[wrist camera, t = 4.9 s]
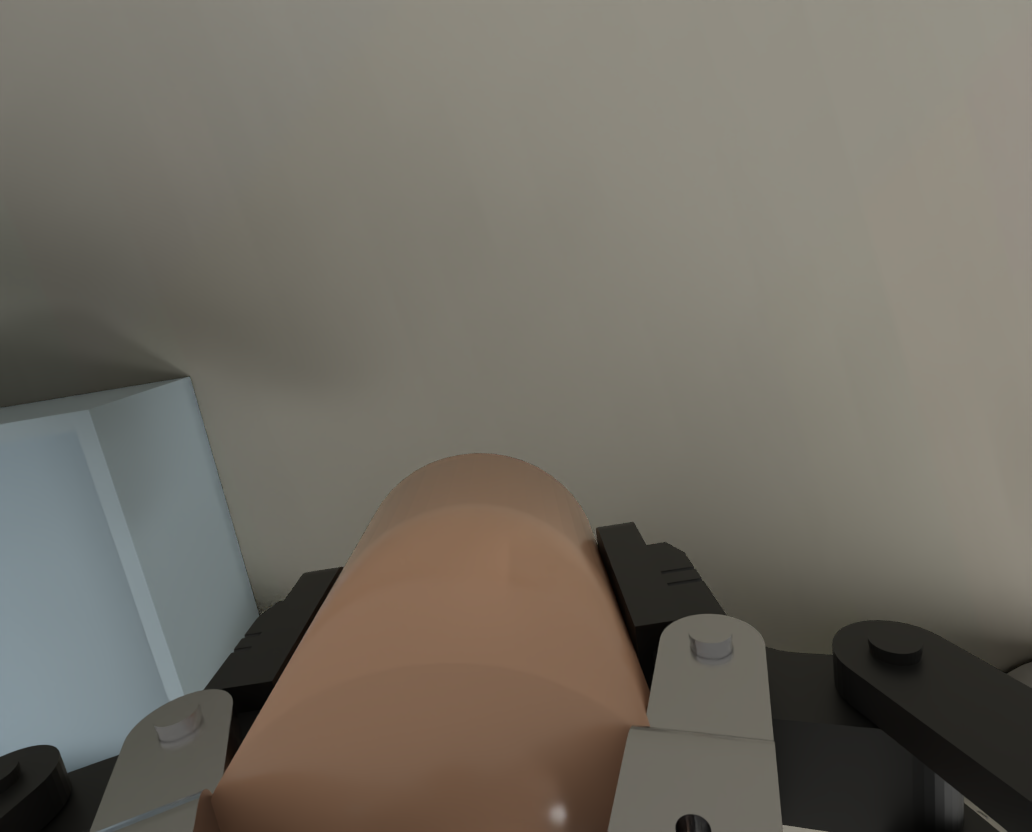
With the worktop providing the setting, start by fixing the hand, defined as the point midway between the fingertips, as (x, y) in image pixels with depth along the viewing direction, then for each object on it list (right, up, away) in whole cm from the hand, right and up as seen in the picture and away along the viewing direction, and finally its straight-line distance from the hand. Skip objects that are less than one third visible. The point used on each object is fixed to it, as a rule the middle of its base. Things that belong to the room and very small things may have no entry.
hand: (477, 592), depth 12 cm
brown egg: (0, 0, +1) cm, 1 cm away
